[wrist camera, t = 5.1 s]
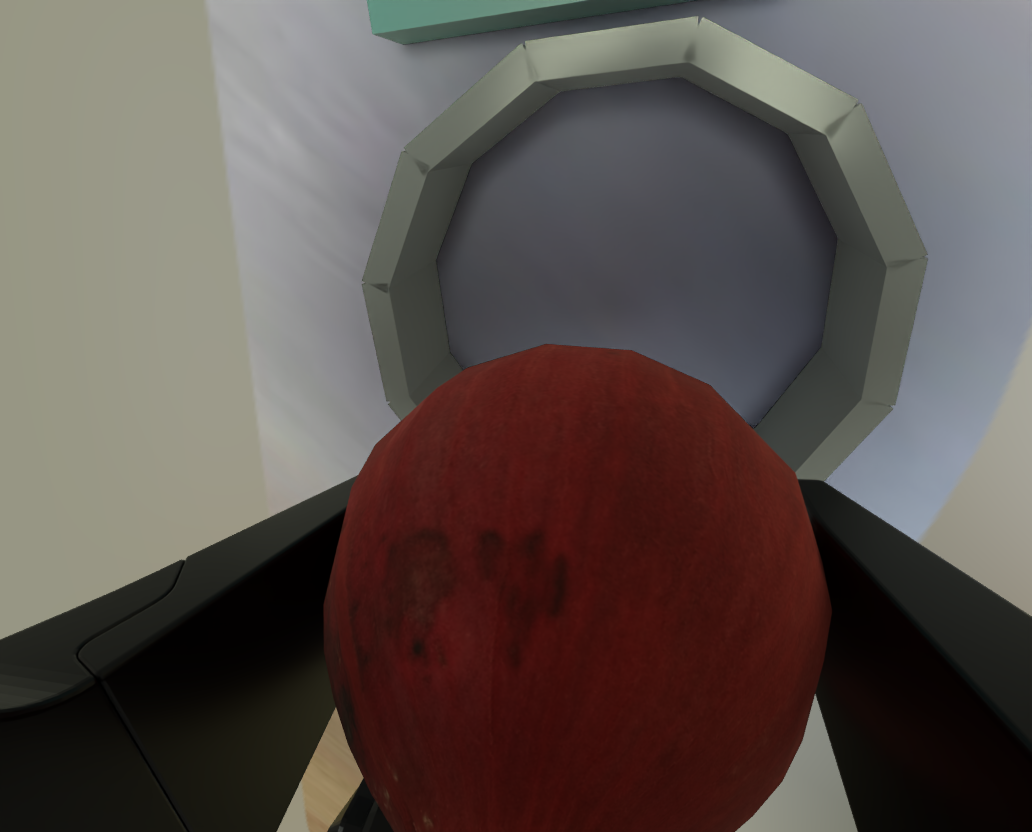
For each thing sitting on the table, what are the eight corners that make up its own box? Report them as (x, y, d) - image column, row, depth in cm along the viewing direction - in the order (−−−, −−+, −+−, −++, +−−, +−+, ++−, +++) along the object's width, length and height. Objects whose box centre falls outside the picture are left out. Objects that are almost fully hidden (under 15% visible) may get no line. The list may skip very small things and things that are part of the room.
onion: (419, 491, 12) (84, 990, 5) (499, 228, 9) (-20, 543, 2) (675, 600, 12) (689, 1284, 5) (839, 363, 9) (1468, 1211, 2)
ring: (823, 489, 20) (859, 564, 17) (450, 474, 23) (414, 534, 20) (907, 12, 14) (992, -27, 11) (384, 82, 17) (316, 70, 14)
